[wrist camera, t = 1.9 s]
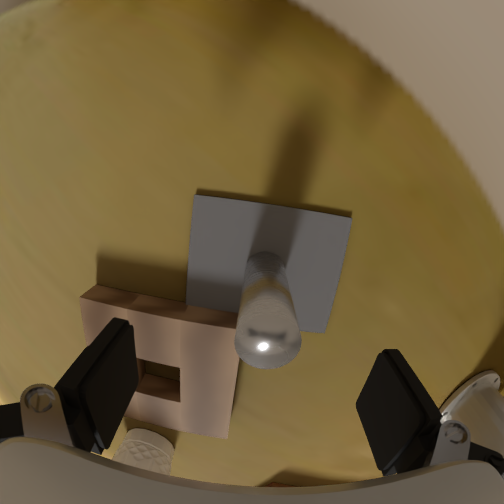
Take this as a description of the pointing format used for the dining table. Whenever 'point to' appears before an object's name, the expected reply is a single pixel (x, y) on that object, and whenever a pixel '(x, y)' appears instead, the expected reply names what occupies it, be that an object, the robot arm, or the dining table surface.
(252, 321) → the peg
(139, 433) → the white cup
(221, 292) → the mat
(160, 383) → the hole block
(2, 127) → the dining table surface
